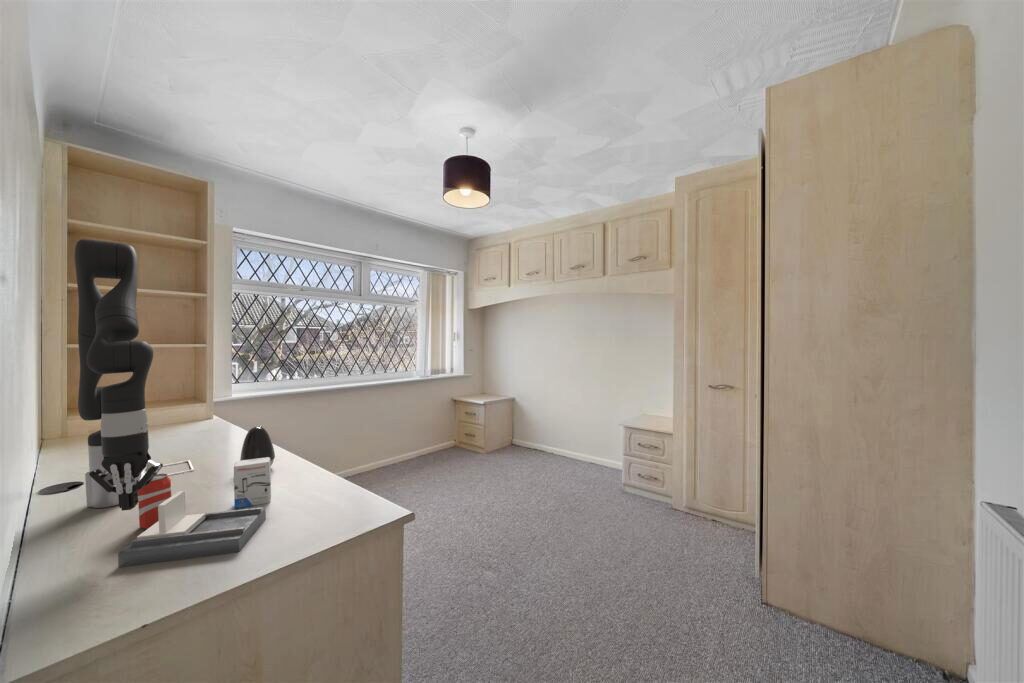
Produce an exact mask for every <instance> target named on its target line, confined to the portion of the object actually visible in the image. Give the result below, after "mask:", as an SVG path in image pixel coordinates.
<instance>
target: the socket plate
mask: <svg viewBox="0 0 1024 683" xmlns="http://www.w3.org/2000/svg"><path fill="white" fill-rule="evenodd" d="M266 510H267V509H266V507H265V506H264V507H263V506H262V507H261V506H260V507H252V508H243V509H242V508H240V509H235V510H234V509H233V510H224V511H215V512H214V511H213V512H205V515H206V518H205V519H204V520H203V521H202V522H201V523H200V524H199V525H198V526H196V527H195V528H194V529H193V530H192V531H191V532H190V533H187V534H178V535H169V536H161V537H152V538H143V539H137V538H136V539H133V540H131V542H130V543H129V544H128V545H126V546H125V547H124V548H122V549H121V550H119V551H118V552H117V560H118V561H117V563H118V568H122V567H131V566H139V565H148V564H155V563H163V562H170V561H179V560H185V559H193V558H194V559H195V558H202V557H209V556H210V557H211V556H219V555H224V554H225V555H226V554H234V553H240V552H241V550H242V549H243V548H244V547H245V545H247V543H248V541H250V539H251V538H252V537H253V535H255V533H256V532H257V530H259V528H260V527H261V526H262V524H263V523H264V522H265V520H266V519H267V513H266ZM195 514H196V513H195ZM195 514H193V515H195ZM202 514H204V513H202Z"/></svg>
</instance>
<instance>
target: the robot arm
mask: <svg viewBox="0 0 1024 683" xmlns="http://www.w3.org/2000/svg"><path fill="white" fill-rule="evenodd" d="M138 263H139V262H138V255H137V252H136V250H135V248H134V246H132V245H130V244H128V243H122V242H114V241H105V240H98V239H96V240H95V239H86V238H85V239H84V238H83V239H79V240H78V241H77V242H76V243H75V248H74V267H75V274H76V275H75V276H76V283H77V293H78V322H77V323H78V324H77V342H78V354H79V382H78V384H79V385H78V396H77V398H78V399H77V410H78V414H79V417H80V418H81V419H82V420H83V421H90V422H91V421H100V430H96V431H94V432H92V433H90V434H89V435H88V436H87V445H88V446H87V450H88V454H87V455H88V468H89V469H88V471H87V472H86V473H85V474H84V475H85V476H84V479H85V480H84V481H85V497H86V498H85V499H86V507H87V508H95V509H98V508H99V509H100V508H101V509H102V508H108V507H109V508H110V507H113V506H118V507H119V508H120V509H121V511H131V510H133V509H134V508H136V506H137V505H138V490H139V489H141V488H143V487H145V486H147V485H148V484H149V483H150V481H151V480H152V479H153V478H154V476H155V475H156V474H159V473H158V472H160V470H161V469H162V468H163V467H162V466H163V465H164V464H163V463H162V462H158V463H157V462H156V461H154V460H152V457H151V455H150V453H149V448H150V443H149V423H148V414H147V411H146V397H145V396H146V394H145V392H146V383H147V378H148V375H149V372H150V368H151V366H152V363H153V360H154V349H153V348H152V346H151V345H150V343H148V342H147V341H144V340H134V339H136V338H137V337H138V336H139V333H140V327H139V320H138V314H137V297H138V276H139V275H138V274H139V271H138V270H139V268H138V267H139V266H138V265H139V264H138ZM95 279H110V280H119V281H118V283H117V284H116V285H115V286H114V287H113V288H112V289H110V290H109V291H108V292H107V293H105V294H104V295H103V294H102V293H101V290H100V289H99V287H98V285H97V283H96V281H95ZM124 373H132V376H130V378H128V379H127V380H125V381H122V382H117V383H113V384H109V385H103V386H98V384H99V382H100V380H101V377H103V376H104V375H108V374H109V375H110V374H124ZM144 468H146V470H145V475H144V476H143V477H142V478H141V472H142V471H143V470H144ZM140 478H141V480H140Z"/></svg>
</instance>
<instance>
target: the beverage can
mask: <svg viewBox="0 0 1024 683" xmlns="http://www.w3.org/2000/svg"><path fill="white" fill-rule="evenodd" d="M168 474H169V473H157V474H156V475H155V476H154V478H153V479H152V480H151V481H150V483H149V484H148V485H147V486H145V487H143V488H141V489H139V490H138V504H137V505H138V520H139V528H141V529H142V528H143V529H146V530H147V529H148V528H150V527H151V526H152V525H154V524H155V523H156V522H158V521H159V517H158V505H160V504H161V503H163V502H164V501H165V500H167V499H168V498H170V497H171V496H172V482H171V478H170V476H167V475H168Z"/></svg>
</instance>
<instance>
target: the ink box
mask: <svg viewBox="0 0 1024 683" xmlns="http://www.w3.org/2000/svg"><path fill="white" fill-rule="evenodd" d="M271 476H272V475H271V466H270V458H269V457H266V458H258V459H250V460H242V461H240V460H238V461H236V462H234V465H233V493H234V494H233V496H234V509H235V510H238V509H242V508H243V509H244V508H247V507H252V506H254V507H255V506H258V505H259V506H260V505H265V504H269V503H271V500H272V482H271V481H272V480H271V479H272V478H271Z"/></svg>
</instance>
